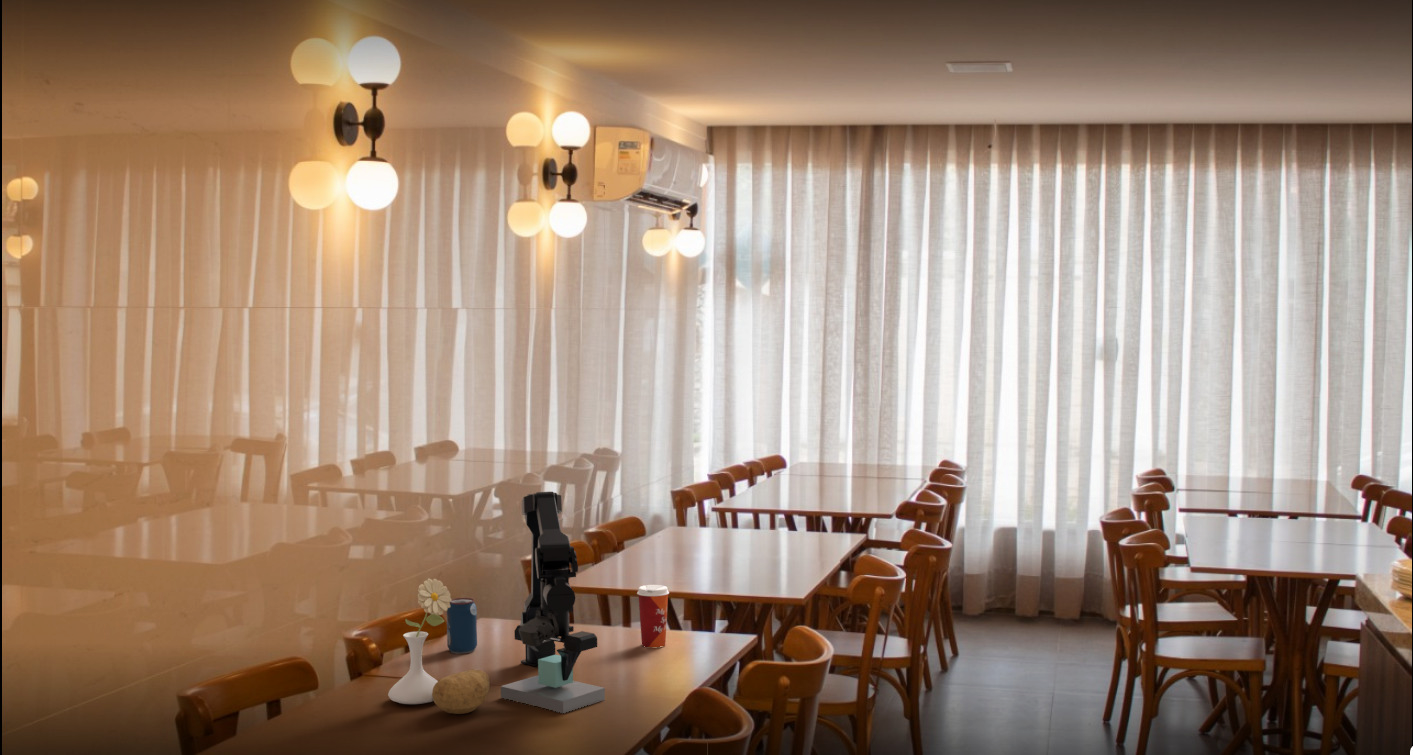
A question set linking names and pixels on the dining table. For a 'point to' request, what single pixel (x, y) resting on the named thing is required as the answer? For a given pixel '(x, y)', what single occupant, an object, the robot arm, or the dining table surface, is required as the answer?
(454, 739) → the dining table surface
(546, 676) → the teal cube
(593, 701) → the slate board
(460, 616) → the soda can
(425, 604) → the flower in vase
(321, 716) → the dining table surface
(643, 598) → the paper cup
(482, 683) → the potato
